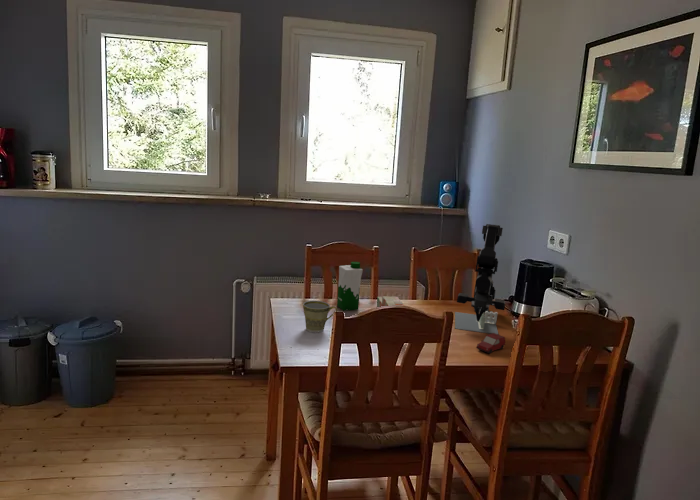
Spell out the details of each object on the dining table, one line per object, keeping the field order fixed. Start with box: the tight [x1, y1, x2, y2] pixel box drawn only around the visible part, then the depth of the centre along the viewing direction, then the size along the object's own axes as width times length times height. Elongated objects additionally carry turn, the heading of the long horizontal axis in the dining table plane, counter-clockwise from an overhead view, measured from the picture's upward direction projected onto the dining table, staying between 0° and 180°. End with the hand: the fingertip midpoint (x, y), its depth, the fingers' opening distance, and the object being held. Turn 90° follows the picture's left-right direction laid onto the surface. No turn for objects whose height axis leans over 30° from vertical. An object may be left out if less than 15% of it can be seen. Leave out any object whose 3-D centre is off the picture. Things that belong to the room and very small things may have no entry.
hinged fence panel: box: [479, 312, 485, 328], centre depth 217 cm, size 8×1×4 cm, turn 171°
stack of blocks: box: [376, 295, 405, 308], centre depth 207 cm, size 21×6×12 cm, turn 8°
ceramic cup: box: [302, 300, 338, 334], centre depth 198 cm, size 13×10×10 cm
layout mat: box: [454, 311, 499, 335], centre depth 221 cm, size 22×17×1 cm
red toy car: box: [475, 333, 506, 354], centre depth 193 cm, size 6×12×5 cm, turn 132°
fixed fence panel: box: [479, 311, 498, 324], centre depth 222 cm, size 7×2×5 cm, turn 79°
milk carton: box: [336, 261, 364, 311], centre depth 226 cm, size 9×9×20 cm
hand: (477, 321), depth 215 cm, fingers closed
